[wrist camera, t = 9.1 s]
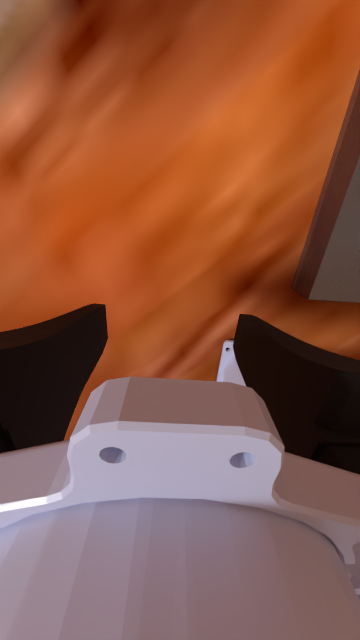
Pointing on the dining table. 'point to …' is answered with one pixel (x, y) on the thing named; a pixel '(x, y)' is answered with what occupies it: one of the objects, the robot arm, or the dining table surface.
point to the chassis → (336, 222)
